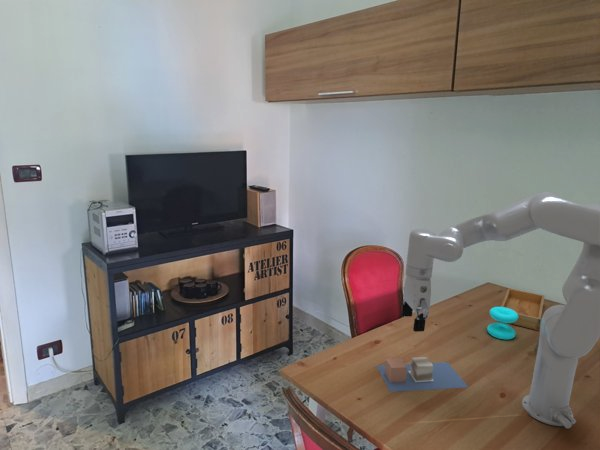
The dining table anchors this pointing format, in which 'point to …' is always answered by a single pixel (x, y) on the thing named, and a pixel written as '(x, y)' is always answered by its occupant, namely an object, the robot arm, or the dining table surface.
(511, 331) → the donuts
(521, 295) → the tray
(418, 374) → the cream block
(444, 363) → the board
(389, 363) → the terracotta block
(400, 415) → the dining table surface
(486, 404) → the dining table surface
